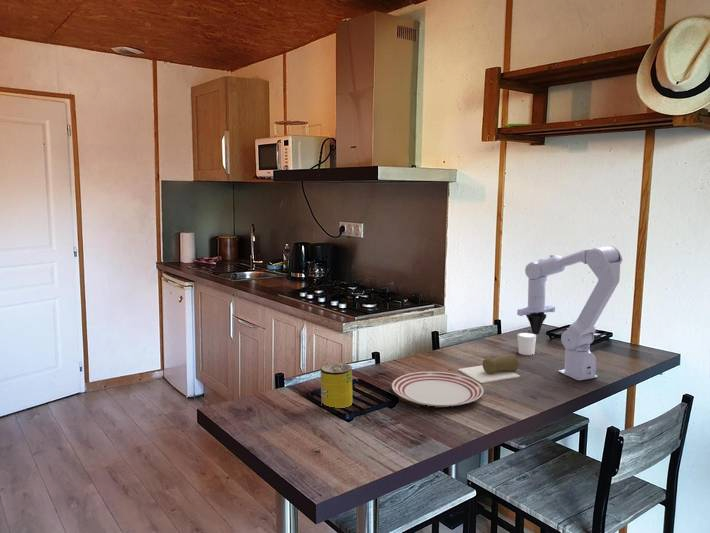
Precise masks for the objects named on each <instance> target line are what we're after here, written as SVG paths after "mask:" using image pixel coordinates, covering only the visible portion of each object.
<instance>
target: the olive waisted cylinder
mask: <svg viewBox="0 0 710 533" xmlns="http://www.w3.org/2000/svg"><path fill="white" fill-rule="evenodd" d="M482 365H483V369H484V371H485V372H486V373H488V374H492V373H494V372H495V371H512V372H516V371H518V369H519V359H518V357H517V356H516V355H515V354H514V353H508V354H505V355H502V356H498V357H495V358H492V357H486V358H485V359H484V360H483V361H482Z"/></svg>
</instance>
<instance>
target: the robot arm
mask: <svg viewBox="0 0 710 533" xmlns="http://www.w3.org/2000/svg"><path fill="white" fill-rule="evenodd" d="M580 263H583V264H584V265H587V266H588V267H589V268H590V270H591V271H592V272H593V273H594V275H595V277H596V278H597V281H596V282H597V283H596V285H595V286H594V288H593V290H592V291H591V293H590V295H589V297H588V299H587V301H586V303H585V305H584V306H583V308H582V310H581V311H580V313H579V316H578V317H577V319H576V320H575V321H573V322H572V323H571V324H570V325H569V327H568V328H567V329H566V330H565V331H563V332H562V333H561V337H560V340H561V344H562V345H563V346H564V349H565V351H564V353H565V355H564V369H560V370H558V372H559V373H561V374H563V375H564V376H565V375H566V376H568V377H570V378H571V379H573V380H576V381H585V380H589V379H590V380H591V379H594V378H598V375H597V357H596V355H595V354H593V353H592V352H591V350H590V345H591V344H592V343H593V342H594V340H595V339H594V338H595V333H596V331H597V328H596V327H595V325H596V323H597V322H598V320H599V318H600V316H601V314H602V312H604V309H605V307H606V305H607V304H608V303H609V301H610V299H611V297H612V295H613V293H614V292H615V290H616V288H617V286H618V284H619V282H620V278H621V277H620V275H621V264H622V263H623V257H622V254H621V252H620V250H619V248H617V247H616V246H613V245H607V246H604V247H594V248H593V247H592V248H590V249H589V248H587V249H582V250H579V251H576V252H574V253H570V254H568V255H565V256H563V257H562V256H560V255H558V254H557V255H556V254H551V255H549V257H546V258H544V259H543V258H540V259H538V261H536V262H534V261H530V263H528V264H527V265H526V266H525V269H524V270H525V271H524V272H525V276H526V277H527V278H528V282H527V283H528V286H527V287H528V289H527V306H526V307H524V308H520V309H517V311H516V313H517V314H516V315H517V316H519V317H523V316H526V318H527V320H528V322H529V325H530V328H531V332H532V334H535V335H539V334H540V331H541V328H542V326H543V323H544V322H545V320H546V318H547V313H555V312H556V306H553V305H546V285H547V284H546V282H547V278H548V276H551V275H555V274H558V273H562V272H563V271H564V270H565V269H566V267H568V266H573V265H576V264H580Z"/></svg>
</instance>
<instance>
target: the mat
mask: <svg viewBox="0 0 710 533" xmlns="http://www.w3.org/2000/svg"><path fill="white" fill-rule="evenodd" d="M457 371H459V372H460V373H462V374H463V375H465V376H466V377H468V378H470V379H473V380H474V381H476V382H478V383H479V384H480V385H481V384H488V383H493V382H500V381H505V380H512V379H517V378H521V375H519V374H518V373H515V371H495V372H494V373H492V374H488V373H486V372H485V371H484V369H483V364H481V365H475V366H469V367H462V368H458V370H457Z"/></svg>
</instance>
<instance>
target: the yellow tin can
mask: <svg viewBox="0 0 710 533" xmlns="http://www.w3.org/2000/svg"><path fill="white" fill-rule="evenodd" d="M352 369H353V368H352V365H350V364H349V363H345V362H331V363H326V364H323V365H321V367H320V393H321V394H320V396H321V397H320V398H321V404H322V403H323V404H324V405H326V406H329V407H335V408H345V407H349V406H351V405H352V403H354V401H353V373H352V372H353V370H352Z"/></svg>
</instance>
